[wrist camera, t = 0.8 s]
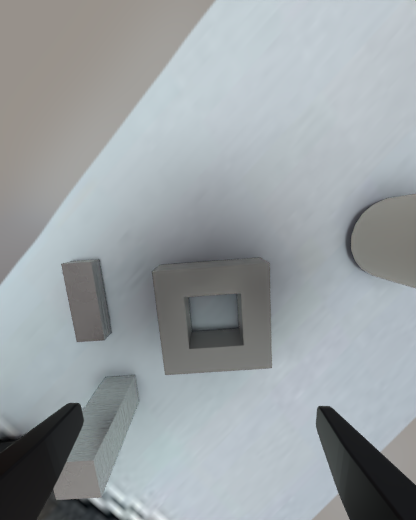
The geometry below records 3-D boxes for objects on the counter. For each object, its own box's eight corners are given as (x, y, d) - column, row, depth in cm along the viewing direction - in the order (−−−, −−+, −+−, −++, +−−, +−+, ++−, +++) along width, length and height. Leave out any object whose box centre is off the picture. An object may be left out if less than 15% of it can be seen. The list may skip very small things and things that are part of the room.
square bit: (139, 401, 22) (101, 497, 14) (110, 402, 22) (56, 499, 14) (135, 374, 22) (93, 460, 14) (105, 376, 22) (46, 463, 14)
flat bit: (113, 330, 21) (104, 340, 19) (87, 332, 21) (76, 342, 19) (101, 258, 20) (90, 261, 18) (74, 260, 20) (61, 263, 18)
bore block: (262, 348, 21) (271, 368, 18) (171, 354, 21) (165, 374, 18) (260, 257, 19) (269, 262, 16) (160, 264, 19) (151, 271, 16)
